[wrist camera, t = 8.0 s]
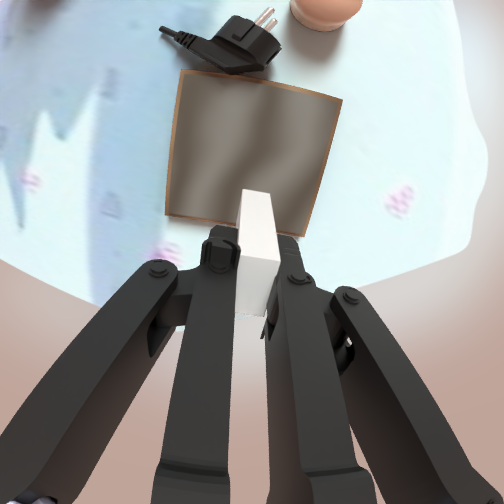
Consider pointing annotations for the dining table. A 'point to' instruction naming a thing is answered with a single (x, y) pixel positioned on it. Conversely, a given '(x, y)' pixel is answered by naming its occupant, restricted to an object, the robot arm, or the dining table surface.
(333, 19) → the peach rounded cylinder
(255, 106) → the stand
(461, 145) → the dining table surface
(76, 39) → the dining table surface
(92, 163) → the dining table surface
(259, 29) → the power plug
